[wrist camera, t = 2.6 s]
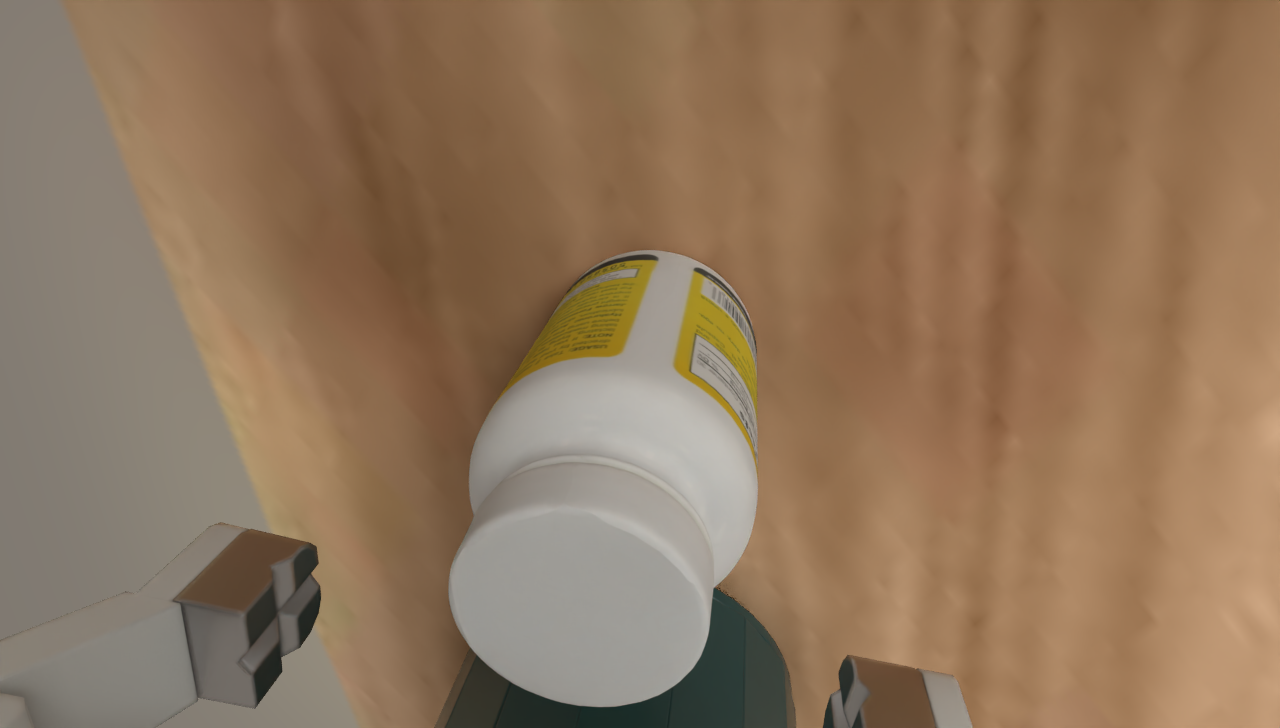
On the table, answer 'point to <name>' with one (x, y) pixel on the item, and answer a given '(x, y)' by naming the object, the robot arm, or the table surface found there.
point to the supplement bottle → (613, 485)
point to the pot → (665, 724)
